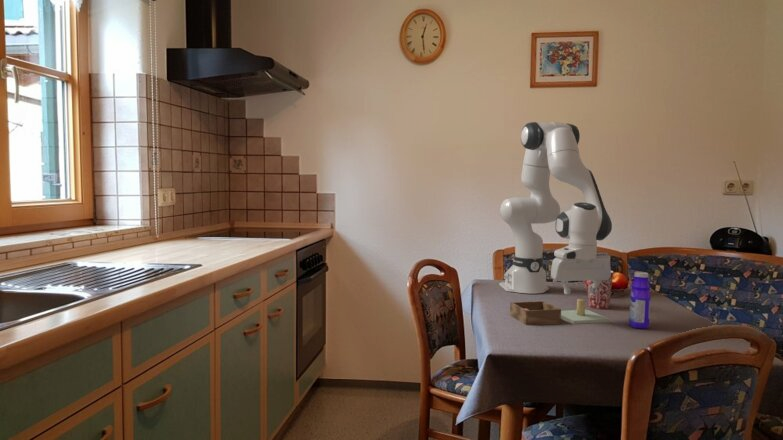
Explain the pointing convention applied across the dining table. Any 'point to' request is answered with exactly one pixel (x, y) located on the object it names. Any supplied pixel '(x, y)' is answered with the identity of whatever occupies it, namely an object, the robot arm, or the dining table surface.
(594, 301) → the mug
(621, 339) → the dining table surface
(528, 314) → the box
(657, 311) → the dining table surface
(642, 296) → the bottle
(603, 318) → the lid
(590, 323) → the mat
